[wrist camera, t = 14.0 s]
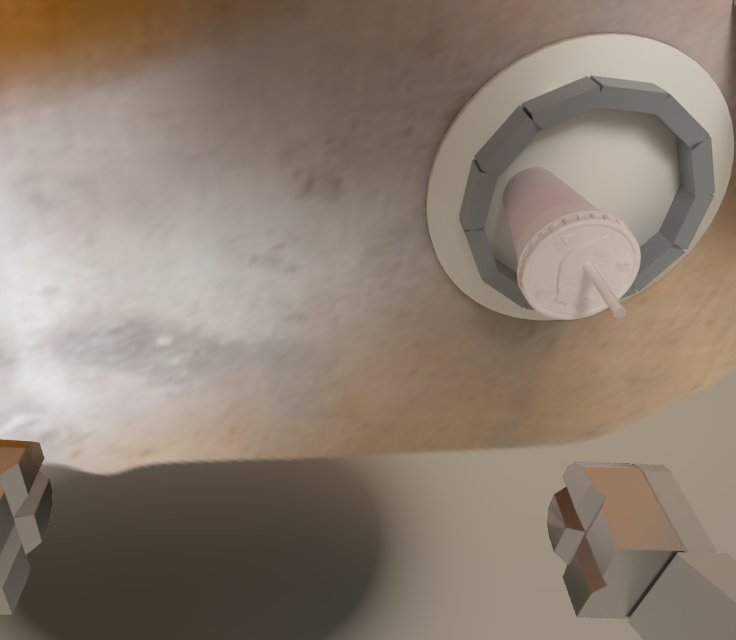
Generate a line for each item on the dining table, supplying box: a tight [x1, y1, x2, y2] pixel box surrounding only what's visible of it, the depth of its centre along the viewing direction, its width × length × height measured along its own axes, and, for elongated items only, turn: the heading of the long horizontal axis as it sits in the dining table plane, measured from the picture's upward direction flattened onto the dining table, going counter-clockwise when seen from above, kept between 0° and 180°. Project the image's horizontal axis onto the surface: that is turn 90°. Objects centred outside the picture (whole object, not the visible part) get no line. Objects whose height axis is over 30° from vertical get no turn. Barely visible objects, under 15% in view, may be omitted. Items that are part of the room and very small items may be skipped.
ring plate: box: [426, 32, 734, 320], centre depth 40 cm, size 20×20×3 cm
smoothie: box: [503, 167, 641, 320], centre depth 35 cm, size 6×6×14 cm
